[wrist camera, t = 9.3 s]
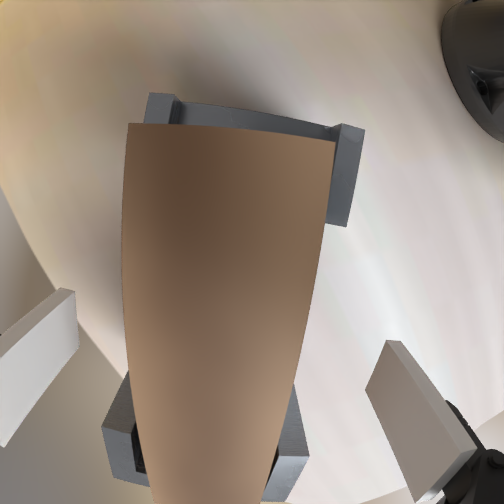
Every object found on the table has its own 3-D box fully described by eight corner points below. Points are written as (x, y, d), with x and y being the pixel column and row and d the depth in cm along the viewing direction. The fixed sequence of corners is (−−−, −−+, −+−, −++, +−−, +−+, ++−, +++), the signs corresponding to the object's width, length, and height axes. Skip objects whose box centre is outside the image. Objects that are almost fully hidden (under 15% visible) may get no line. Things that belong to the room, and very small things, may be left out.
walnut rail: (295, 151, 13) (335, 142, 7) (253, 433, 17) (256, 513, 11) (177, 140, 13) (128, 123, 7) (171, 425, 17) (154, 503, 11)
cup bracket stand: (320, 146, 21) (411, 129, 9) (269, 377, 26) (284, 501, 14) (181, 123, 21) (107, 77, 8) (157, 360, 26) (113, 477, 13)
